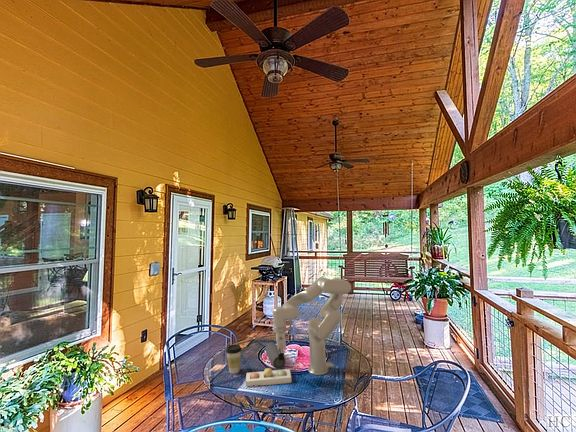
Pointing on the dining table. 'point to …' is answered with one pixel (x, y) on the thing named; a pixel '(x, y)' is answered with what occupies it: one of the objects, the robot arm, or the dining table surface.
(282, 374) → the button sage
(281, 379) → the console
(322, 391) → the dining table surface
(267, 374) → the button ochre
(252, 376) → the button terracotta
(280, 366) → the bluetooth speaker
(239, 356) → the coffee cup
